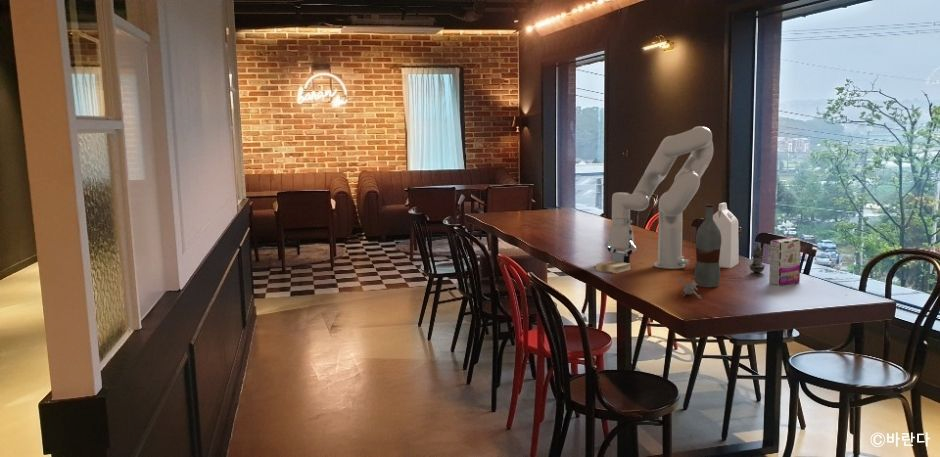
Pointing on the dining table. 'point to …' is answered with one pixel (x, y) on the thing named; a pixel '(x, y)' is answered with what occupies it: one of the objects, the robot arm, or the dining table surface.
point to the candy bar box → (785, 261)
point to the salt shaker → (757, 263)
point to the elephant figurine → (690, 288)
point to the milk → (727, 236)
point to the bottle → (708, 251)
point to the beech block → (613, 266)
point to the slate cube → (617, 256)
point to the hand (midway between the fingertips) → (620, 263)
